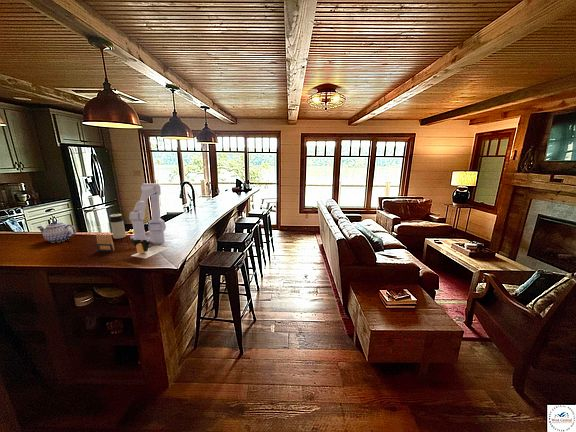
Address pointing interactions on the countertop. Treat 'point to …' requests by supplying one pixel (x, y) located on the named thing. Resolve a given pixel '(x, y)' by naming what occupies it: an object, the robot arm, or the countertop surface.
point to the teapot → (57, 232)
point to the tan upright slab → (105, 243)
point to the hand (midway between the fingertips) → (142, 250)
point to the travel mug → (117, 226)
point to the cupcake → (140, 248)
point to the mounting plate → (150, 252)
